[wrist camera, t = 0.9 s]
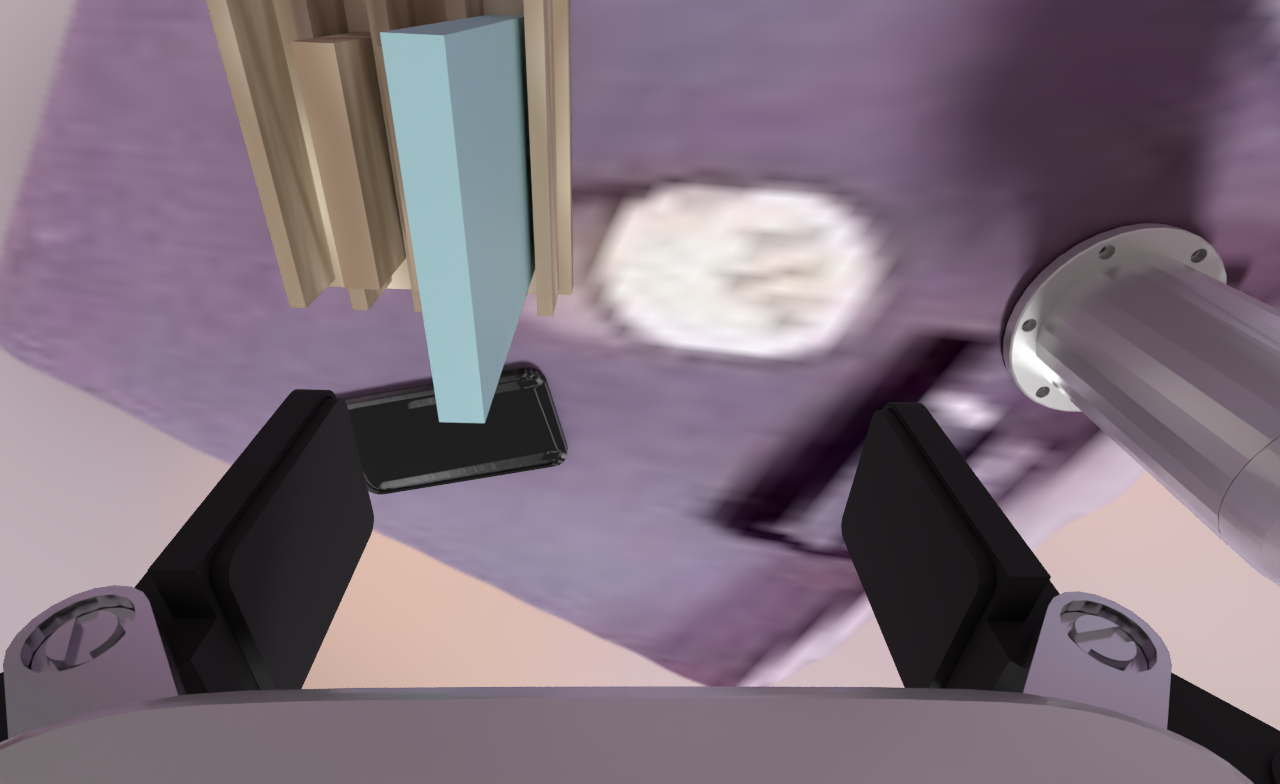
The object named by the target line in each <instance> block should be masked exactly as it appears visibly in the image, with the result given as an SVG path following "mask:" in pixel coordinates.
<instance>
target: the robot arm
mask: <svg viewBox="0 0 1280 784" xmlns="http://www.w3.org/2000/svg"><path fill="white" fill-rule="evenodd" d="M1003 357H1004V361H1005V365H1006V370H1007V371H1008V373H1009V375H1010V377H1011V379H1012V381H1013V382H1014V383H1015V384H1016V385H1017V386H1018V387H1019V388H1020V390H1021V391H1022V392H1023V393H1024V394H1025V395H1027V396H1028V397H1029V398H1030V399H1031V400H1033V401H1034V402H1036V403H1039V404H1041V405H1043V406H1046V407H1048V408H1051V409H1056V410H1061V411H1075V412H1083V413H1084V414H1085V415H1086V416H1087V417H1089V418H1090V419H1091V420H1092V421H1093V422H1094V423H1095V424H1096V425H1097V426H1098V427H1099V428H1100V429H1102V430H1103V431H1104V432H1105V433H1106V434H1107V435H1108V436H1109V437H1110V438H1111V439H1112V440H1114V441H1115V442H1116V443H1117V444H1118V445H1119V446H1120V447H1121V448H1122V449H1123V450H1124V451H1126V452H1127V453H1128V454H1129V455H1130V456H1131V457H1132V458H1133V459H1134V460H1135V461H1136V462H1137V463H1139V464H1140V465H1141V466H1142V467H1143V468H1144V469H1145V470H1146V471H1147V472H1148V473H1150V474H1151V475H1152V476H1153V477H1154V478H1155V479H1156V480H1157V481H1158V482H1159V483H1160V484H1162V485H1163V486H1164V487H1165V488H1166V489H1167V490H1168V491H1169V492H1170V493H1171V494H1172V495H1173V496H1174V497H1176V498H1177V499H1178V500H1179V501H1180V502H1181V503H1182V504H1183V505H1184V506H1185V507H1187V508H1188V509H1189V510H1190V511H1191V512H1192V513H1193V514H1194V515H1195V516H1196V517H1197V518H1198V519H1200V520H1201V521H1202V522H1203V523H1204V524H1205V525H1206V526H1207V527H1208V528H1209V529H1210V530H1212V531H1213V532H1214V533H1215V534H1216V535H1217V536H1218V537H1219V538H1220V539H1222V540H1223V541H1224V542H1225V543H1226V544H1227V545H1229V546H1230V547H1231V548H1232V549H1233V550H1234V551H1235V552H1236V553H1237V554H1239V556H1241V557H1242V558H1243V559H1244V560H1245V561H1246V562H1247V563H1248V564H1249V565H1251V566H1252V567H1253V568H1254V569H1255V570H1257V571H1258V572H1259V573H1260V574H1262V575H1263V576H1265V577H1266V578H1268V579H1269V580H1271V581H1272V582H1274V583H1276V584H1277V585H1279V586H1280V310H1278V309H1276V308H1274V307H1272V306H1270V305H1268V304H1266V303H1264V302H1262V301H1259V300H1257V299H1255V298H1253V297H1251V296H1249V295H1247V294H1245V293H1243V292H1241V291H1239V290H1237V289H1235V288H1233V287H1231V286H1229V285H1227V274H1226V271H1225V268H1224V264H1223V261H1222V259H1221V257H1220V256H1219V254H1218V253H1217V251H1216V250H1215V249H1214V247H1213V246H1212V245H1210V244H1209V243H1208V242H1207V241H1205V240H1204V239H1203V238H1201V237H1200V236H1198V235H1195V234H1193V233H1191V232H1189V231H1186V230H1184V229H1182V228H1178V227H1174V226H1170V225H1167V224H1152V223H1142V224H1135V225H1128V226H1122V227H1119V228H1116V229H1113V230H1109V231H1106V232H1103V233H1100V234H1098V235H1096V236H1094V237H1092V238H1090V239H1087V240H1085V241H1083V242H1081V243H1079V244H1078V245H1076V246H1074V247H1073V248H1071V249H1070V250H1068V251H1067V252H1065V253H1064V254H1062V255H1061V256H1059V257H1058V258H1057V259H1056V260H1054V261H1053V262H1052V263H1051V264H1050V265H1049V266H1047V267H1046V268H1045V269H1044V270H1043V271H1042V272H1041V273H1040V274H1039V275H1038V276H1037V277H1036V278H1035V279H1034V281H1033V282H1032V283H1031V284H1030V285H1029V286H1028V287H1027V289H1026V290H1025V292H1024V293H1023V295H1022V296H1021V298H1020V299H1019V301H1018V302H1017V304H1016V305H1015V307H1014V309H1013V312H1012V314H1011V316H1010V318H1009V321H1008V323H1007V327H1006V331H1005V335H1004V340H1003ZM373 523H374V515H373V510H372V505H371V501H370V497H369V493H368V489H367V485H366V481H365V477H364V473H363V469H362V465H361V460H360V456H359V452H358V448H357V444H356V440H355V436H354V432H353V428H352V424H351V420H350V416H349V411H348V407H347V404H346V402H345V401H344V400H343V399H337V398H336V396H335V394H334V393H333V392H332V391H330V390H304V389H297V390H294V391H292V392H291V393H290V394H289V396H288V397H287V398H286V399H285V401H284V402H283V403H282V404H281V405H280V407H279V408H278V409H277V410H276V412H275V413H274V414H273V415H272V417H271V418H270V419H269V420H268V422H267V423H266V424H265V425H264V427H263V428H262V429H261V430H260V431H259V433H258V434H257V435H256V436H255V438H254V439H253V440H252V441H251V443H250V444H249V445H248V446H247V448H246V449H245V450H244V451H243V453H242V454H241V455H240V456H239V457H238V459H237V460H236V461H235V462H234V464H233V465H232V466H231V467H230V469H229V470H228V471H227V472H226V474H225V475H224V476H223V477H222V479H221V480H220V481H219V482H218V483H217V485H216V486H215V487H214V489H213V490H212V491H211V492H210V493H209V495H208V496H207V497H206V498H205V500H204V501H203V502H202V503H201V505H200V506H199V507H198V508H197V510H196V511H195V512H194V513H193V515H192V516H191V517H190V518H189V519H188V521H187V522H186V523H185V525H184V526H183V527H182V528H181V529H180V531H179V532H178V533H177V534H176V536H175V537H174V538H173V539H172V541H171V542H170V543H169V544H168V546H167V547H166V548H165V549H164V550H163V552H162V553H161V554H160V555H159V557H158V558H157V559H156V560H155V562H154V563H153V564H152V565H151V566H150V568H149V569H148V572H147V573H146V574H145V575H144V577H143V578H142V579H141V580H140V582H139V583H138V584H137V585H136V586H135V588H133V587H128V586H108V587H101V588H94V589H92V590H88V591H85V592H82V593H79V594H76V595H73V596H71V597H69V598H67V599H65V600H63V601H61V602H59V603H57V604H55V605H53V606H51V607H50V608H48V609H47V610H45V611H44V612H42V613H41V614H39V615H38V616H37V617H35V618H34V619H32V620H31V621H30V622H29V623H28V624H27V625H26V626H25V627H24V628H23V629H22V630H21V631H20V632H19V633H18V634H17V635H16V636H15V638H14V639H13V641H12V642H11V644H10V645H9V647H8V648H7V650H6V654H5V659H4V663H3V670H4V672H2V673H0V784H1280V731H1279V730H1277V729H1275V728H1273V727H1271V726H1270V725H1268V724H1266V723H1264V722H1262V721H1260V720H1258V719H1257V718H1255V717H1253V716H1251V715H1249V714H1247V713H1246V712H1244V711H1242V710H1240V709H1238V708H1236V707H1234V706H1232V705H1231V704H1229V703H1227V702H1225V701H1223V700H1221V699H1219V698H1218V697H1216V696H1214V695H1212V694H1210V693H1208V692H1206V691H1205V690H1203V689H1201V688H1199V687H1197V686H1195V685H1193V684H1192V683H1190V682H1188V681H1186V680H1184V679H1182V678H1180V677H1179V676H1177V675H1175V674H1173V673H1171V667H1172V665H1171V659H1170V654H1169V651H1168V649H1167V647H1166V646H1165V644H1164V642H1163V641H1162V639H1161V637H1159V635H1158V634H1157V633H1156V632H1155V631H1154V630H1153V629H1152V628H1151V627H1150V626H1149V625H1148V624H1147V623H1146V622H1145V621H1144V620H1142V619H1141V618H1140V617H1138V616H1137V615H1136V614H1134V613H1133V612H1132V611H1130V610H1128V609H1126V608H1125V607H1123V606H1121V605H1119V604H1117V603H1116V602H1114V601H1111V600H1108V599H1106V598H1103V597H1100V596H1097V595H1095V594H1089V593H1083V592H1066V593H1062V594H1059V592H1058V591H1057V590H1056V588H1055V587H1054V586H1053V584H1052V583H1051V582H1050V578H1051V577H1050V575H1049V574H1048V573H1047V571H1046V570H1045V569H1044V567H1043V566H1042V564H1041V563H1040V562H1039V560H1038V559H1037V557H1036V556H1035V555H1034V553H1033V552H1032V551H1031V549H1030V548H1029V547H1028V545H1027V544H1026V543H1025V541H1024V540H1023V539H1022V537H1021V536H1020V534H1019V533H1018V532H1017V530H1016V529H1015V528H1014V526H1013V525H1012V524H1011V522H1010V521H1009V520H1008V518H1007V517H1006V516H1005V514H1004V513H1003V511H1002V510H1001V509H1000V507H999V506H998V505H997V503H996V502H995V501H994V499H993V498H992V497H991V495H990V494H989V492H988V491H987V490H986V488H985V487H984V486H983V484H982V483H981V482H980V480H979V479H978V478H977V476H976V475H975V474H974V472H973V471H972V469H971V468H970V467H969V465H968V464H967V463H966V461H965V460H964V459H963V457H962V456H961V455H960V453H959V452H958V451H957V449H956V448H955V446H954V445H953V444H952V442H951V441H950V440H949V438H948V437H947V436H946V434H945V433H944V432H943V430H942V429H941V428H940V426H939V425H938V423H937V422H936V421H935V419H934V418H933V417H932V415H931V414H930V413H929V411H928V410H927V409H926V407H925V406H924V405H923V404H920V403H894V402H889V403H887V404H886V405H885V406H884V408H883V410H877V411H876V412H875V413H874V415H873V417H872V420H871V424H870V427H869V430H868V434H867V437H866V440H865V444H864V447H863V451H862V454H861V457H860V461H859V464H858V467H857V471H856V474H855V477H854V481H853V484H852V487H851V491H850V494H849V497H848V501H847V504H846V508H845V511H844V514H843V518H842V525H841V527H842V536H843V539H844V542H845V544H846V546H847V549H848V551H849V554H850V556H851V559H852V561H853V563H854V566H855V568H856V571H857V573H858V576H859V578H860V580H861V583H862V585H863V588H864V590H865V593H866V595H867V597H868V600H869V602H870V605H871V607H872V610H873V612H874V614H875V617H876V619H877V622H878V624H879V626H880V629H881V631H882V634H883V636H884V639H885V641H886V643H887V646H888V648H889V651H890V653H891V655H892V658H893V660H894V663H895V665H896V667H897V670H898V673H899V675H900V677H901V680H902V682H903V685H904V687H905V688H884V687H883V688H881V687H450V688H449V687H448V688H447V687H442V688H441V687H439V688H341V689H340V688H337V689H301V688H302V686H303V684H304V682H305V679H306V677H307V675H308V673H309V671H310V668H311V666H312V664H313V662H314V660H315V657H316V655H317V653H318V651H319V648H320V646H321V644H322V642H323V640H324V637H325V635H326V633H327V631H328V629H329V626H330V624H331V622H332V619H333V618H334V615H335V613H336V611H337V609H338V606H339V604H340V602H341V600H342V597H343V595H344V593H345V591H346V589H347V586H348V584H349V582H350V580H351V577H352V575H353V573H354V571H355V568H356V566H357V564H358V562H359V560H360V558H361V555H362V553H363V551H364V549H365V546H366V544H367V542H368V540H369V538H370V535H371V533H372V529H373Z"/></svg>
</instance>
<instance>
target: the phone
mask: <svg viewBox="0 0 1280 784" xmlns="http://www.w3.org/2000/svg"><path fill="white" fill-rule="evenodd" d="M344 401H345V402H346V404H347V407H348V411H349V416H350V420H351V424H352V428H353V432H354V436H355V440H356V444H357V448H358V452H359V456H360V460H361V465H362V469H363V473H364V477H365V481H366V485H367V489H368V491H370V492H372V493H375V494H388V493H394V492H400V491H406V490H413V489H419V488H425V487H431V486H437V485H443V484H449V483H455V482H461V481H468V480H474V479H480V478H486V477H492V476H498V475H504V474H510V473H516V472H523V471H529V470H535V469H541V468H547V467H553V466H557V465H560V464H561V463H563V462H564V460H565V459H566V456H567V449H568V448H567V443H566V440H565V436H564V433H563V430H562V427H561V424H560V421H559V417H558V414H557V411H556V408H555V405H554V402H553V398H552V395H551V392H550V389H549V386H548V383H547V380H546V378H545V376H544V375H543V374H542V373H541V372H540V371H538V370H537V369H533V368H521V369H516V370H510V371H504V372H501V375H500V378H499V381H498V384H497V388H496V391H495V394H494V397H493V400H492V403H491V406H490V409H489V412H488V415H487V418H486V421H485V423H453V422H439V418H438V411H437V405H436V398H435V391H434V385H433V384H431V385H425V386H420V387H414V388H408V389H403V390H397V391H391V392H386V393H380V394H374V395H369V396H363V397H357V398H352V399H346V400H344Z"/></svg>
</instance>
